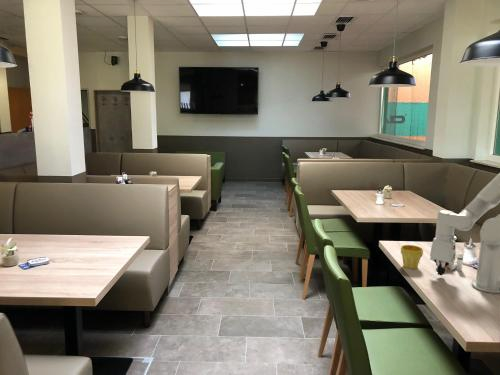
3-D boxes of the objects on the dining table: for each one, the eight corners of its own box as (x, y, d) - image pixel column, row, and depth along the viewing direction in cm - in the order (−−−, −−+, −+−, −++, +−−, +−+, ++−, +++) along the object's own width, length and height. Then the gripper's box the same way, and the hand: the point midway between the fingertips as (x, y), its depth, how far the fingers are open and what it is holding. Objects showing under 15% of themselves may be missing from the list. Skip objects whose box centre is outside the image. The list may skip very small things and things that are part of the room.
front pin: (454, 270, 200) (460, 266, 206) (453, 265, 200) (460, 261, 205) (448, 269, 202) (455, 265, 207) (448, 265, 202) (455, 260, 207)
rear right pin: (462, 270, 201) (464, 253, 200) (460, 271, 199) (462, 254, 198) (457, 268, 203) (459, 252, 201) (455, 270, 201) (457, 253, 200)
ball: (446, 255, 204) (447, 256, 199) (450, 267, 203) (450, 268, 198) (434, 257, 206) (434, 258, 201) (437, 269, 205) (437, 270, 200)
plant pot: (423, 271, 199) (425, 252, 198) (401, 269, 201) (402, 250, 200) (419, 263, 209) (420, 245, 208) (398, 262, 211) (399, 244, 210)
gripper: (464, 239, 185) (460, 276, 189) (431, 232, 196) (428, 268, 199) (458, 242, 180) (454, 281, 184) (424, 235, 191) (421, 271, 194)
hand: (440, 274), depth 192 cm, fingers closed
